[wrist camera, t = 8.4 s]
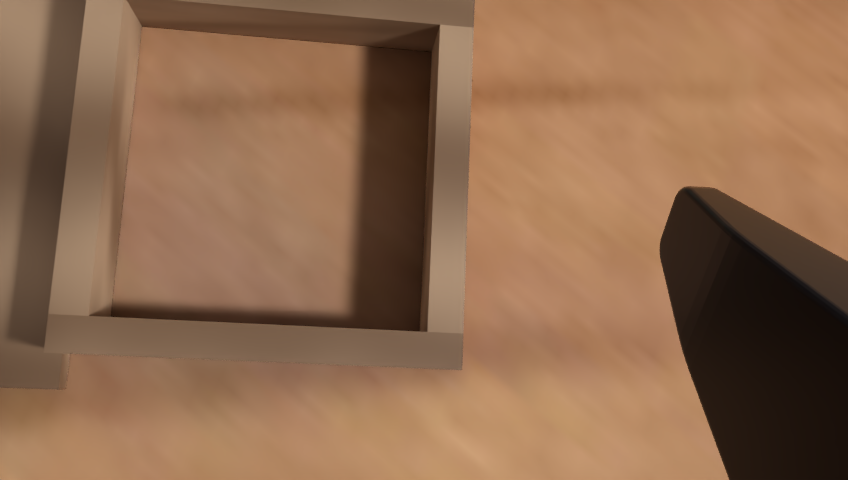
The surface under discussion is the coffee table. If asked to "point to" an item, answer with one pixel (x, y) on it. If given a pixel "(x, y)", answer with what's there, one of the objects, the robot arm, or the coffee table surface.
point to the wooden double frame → (106, 172)
